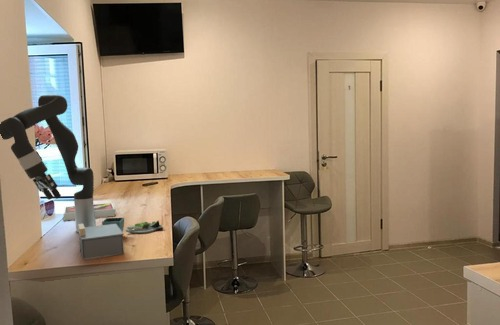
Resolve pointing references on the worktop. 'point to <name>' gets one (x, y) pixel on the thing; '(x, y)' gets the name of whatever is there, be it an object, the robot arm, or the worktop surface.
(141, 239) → the worktop surface
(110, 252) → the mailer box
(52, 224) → the worktop surface
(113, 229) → the lid
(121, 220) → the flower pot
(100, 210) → the product packaging
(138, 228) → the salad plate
